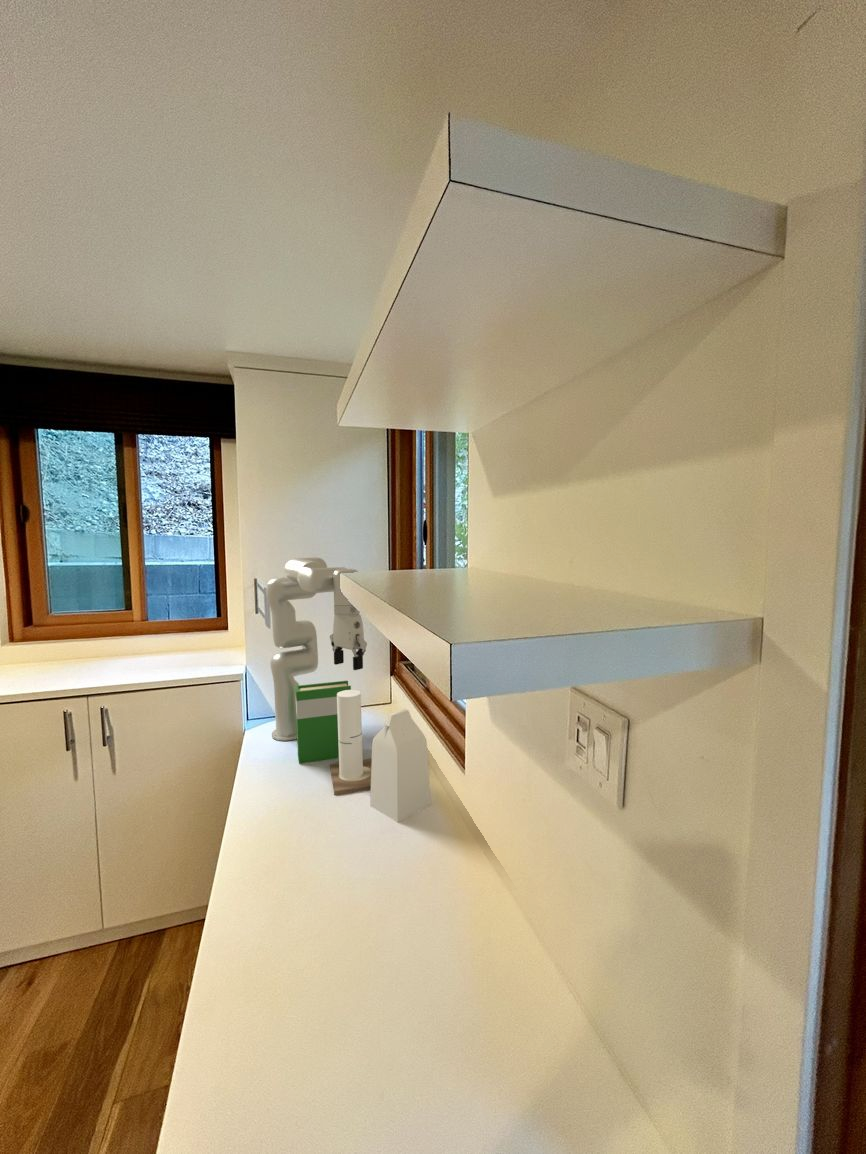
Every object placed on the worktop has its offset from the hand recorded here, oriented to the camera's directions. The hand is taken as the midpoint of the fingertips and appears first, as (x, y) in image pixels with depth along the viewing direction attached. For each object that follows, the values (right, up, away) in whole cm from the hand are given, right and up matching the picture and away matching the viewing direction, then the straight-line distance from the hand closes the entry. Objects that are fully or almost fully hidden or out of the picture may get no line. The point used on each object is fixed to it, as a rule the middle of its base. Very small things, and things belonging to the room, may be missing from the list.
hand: (348, 666), depth 149 cm
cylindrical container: (+1, -33, +2) cm, 33 cm away
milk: (+17, -36, -14) cm, 42 cm away
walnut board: (+2, -34, +2) cm, 35 cm away
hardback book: (-11, -34, +19) cm, 40 cm away
